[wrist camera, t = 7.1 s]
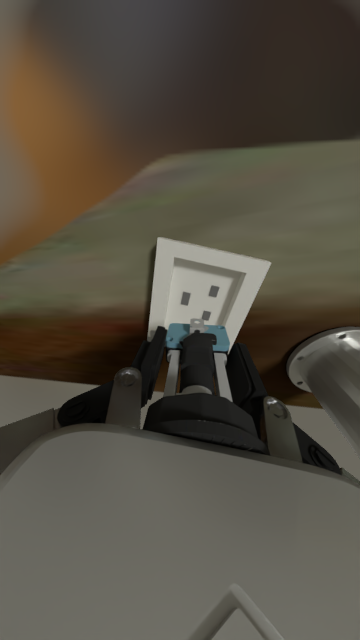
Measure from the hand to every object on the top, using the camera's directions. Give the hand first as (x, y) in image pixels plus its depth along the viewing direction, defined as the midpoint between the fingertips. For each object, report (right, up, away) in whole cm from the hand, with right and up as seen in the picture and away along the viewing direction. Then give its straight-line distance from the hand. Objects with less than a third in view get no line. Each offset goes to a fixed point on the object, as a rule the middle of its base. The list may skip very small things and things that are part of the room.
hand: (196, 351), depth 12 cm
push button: (0, +1, +2) cm, 3 cm away
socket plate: (+1, +5, +9) cm, 11 cm away
